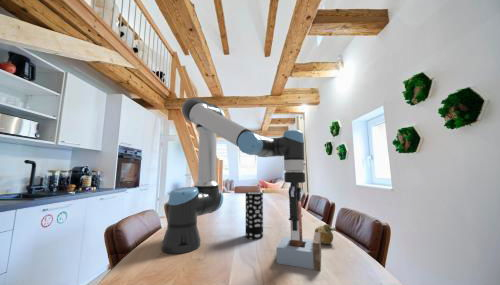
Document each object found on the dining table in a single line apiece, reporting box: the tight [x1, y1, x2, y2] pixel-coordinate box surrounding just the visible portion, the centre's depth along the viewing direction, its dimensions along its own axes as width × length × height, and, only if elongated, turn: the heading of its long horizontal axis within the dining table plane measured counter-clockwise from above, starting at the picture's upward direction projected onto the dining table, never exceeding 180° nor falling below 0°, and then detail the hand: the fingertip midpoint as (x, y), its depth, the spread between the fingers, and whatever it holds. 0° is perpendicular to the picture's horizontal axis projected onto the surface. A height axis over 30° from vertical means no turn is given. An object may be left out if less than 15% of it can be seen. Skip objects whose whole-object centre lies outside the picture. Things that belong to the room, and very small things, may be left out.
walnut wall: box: [312, 231, 322, 272], centre depth 69 cm, size 2×12×8 cm, turn 159°
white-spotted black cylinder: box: [245, 191, 264, 241], centre depth 96 cm, size 8×8×20 cm
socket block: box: [275, 236, 314, 270], centre depth 71 cm, size 12×12×5 cm
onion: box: [314, 223, 337, 245], centre depth 87 cm, size 8×8×8 cm
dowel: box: [289, 201, 303, 248], centre depth 72 cm, size 4×4×16 cm
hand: (296, 237), depth 72 cm, fingers closed on dowel, 4 cm apart
